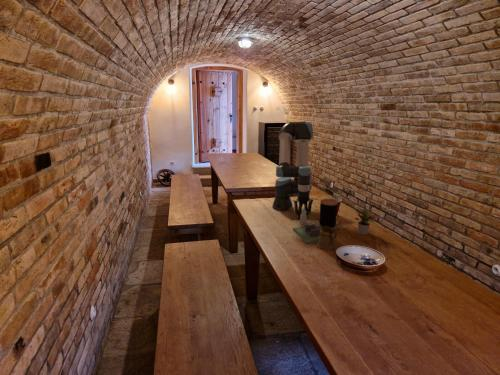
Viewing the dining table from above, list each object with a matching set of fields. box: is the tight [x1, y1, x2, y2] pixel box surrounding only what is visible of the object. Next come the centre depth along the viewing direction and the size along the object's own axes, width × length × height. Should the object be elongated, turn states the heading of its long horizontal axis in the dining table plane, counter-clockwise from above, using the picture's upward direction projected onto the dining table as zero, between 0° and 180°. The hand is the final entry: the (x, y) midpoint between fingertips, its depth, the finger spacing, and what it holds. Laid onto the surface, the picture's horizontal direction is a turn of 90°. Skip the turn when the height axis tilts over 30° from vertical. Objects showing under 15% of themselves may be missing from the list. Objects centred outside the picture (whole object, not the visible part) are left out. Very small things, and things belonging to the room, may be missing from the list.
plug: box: [300, 208, 307, 227], centre depth 209 cm, size 5×3×10 cm, turn 17°
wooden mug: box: [316, 220, 343, 250], centre depth 175 cm, size 9×14×18 cm, turn 44°
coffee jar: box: [318, 198, 338, 228], centre depth 202 cm, size 11×11×18 cm
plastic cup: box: [328, 197, 343, 216], centre depth 223 cm, size 11×11×12 cm
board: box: [292, 221, 321, 245], centre depth 193 cm, size 20×16×6 cm
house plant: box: [354, 207, 377, 235], centre depth 194 cm, size 14×14×16 cm
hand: (302, 223), depth 210 cm, fingers closed on plug, 3 cm apart
